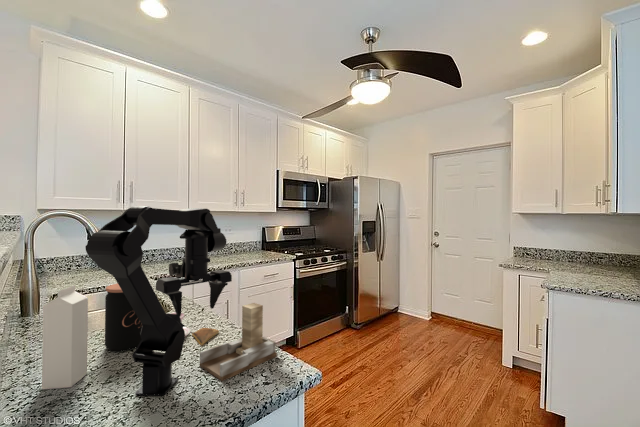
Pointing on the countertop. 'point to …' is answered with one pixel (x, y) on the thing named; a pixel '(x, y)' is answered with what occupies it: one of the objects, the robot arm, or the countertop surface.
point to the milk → (64, 339)
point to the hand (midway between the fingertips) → (195, 312)
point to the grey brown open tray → (235, 358)
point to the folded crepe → (204, 335)
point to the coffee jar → (120, 321)
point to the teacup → (186, 330)
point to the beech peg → (251, 326)
